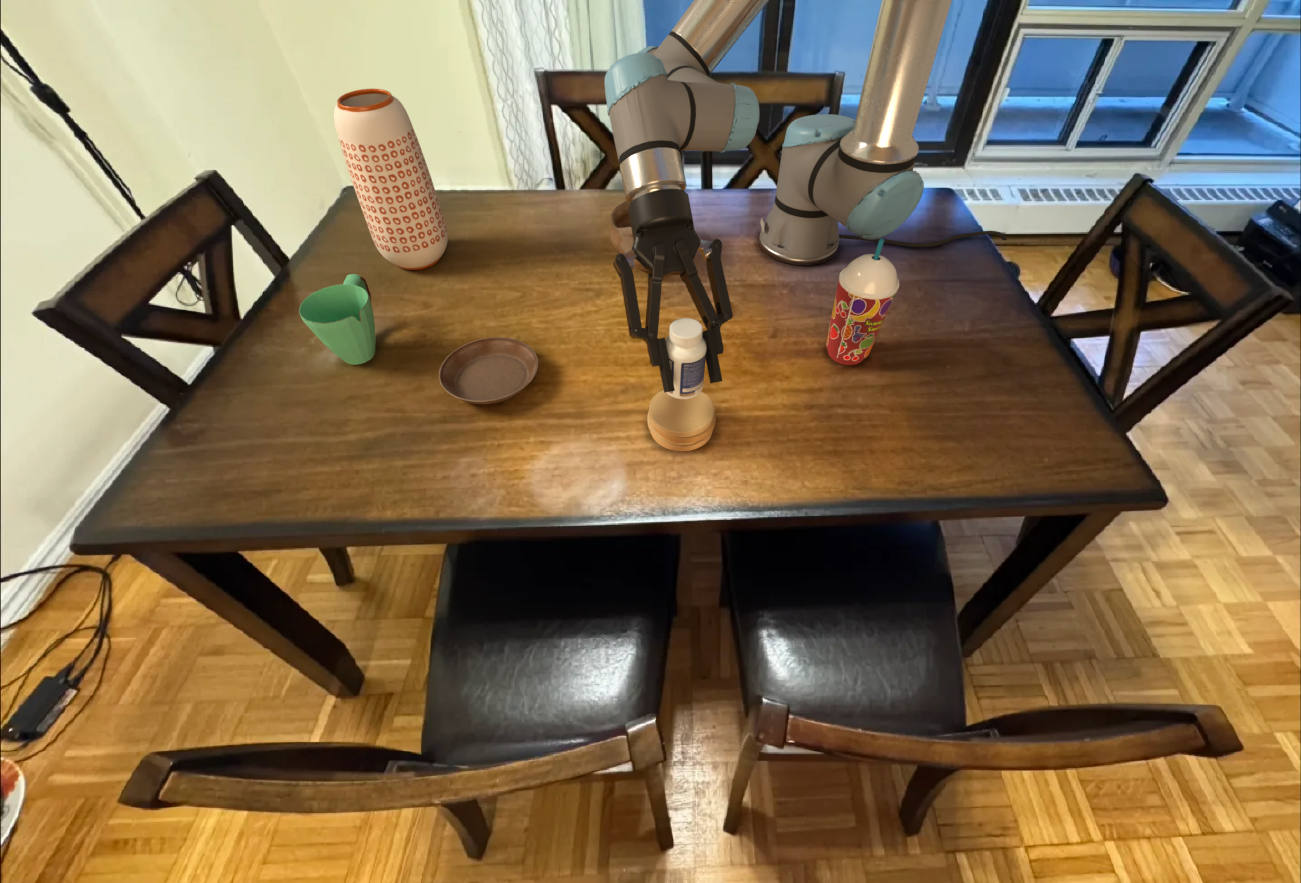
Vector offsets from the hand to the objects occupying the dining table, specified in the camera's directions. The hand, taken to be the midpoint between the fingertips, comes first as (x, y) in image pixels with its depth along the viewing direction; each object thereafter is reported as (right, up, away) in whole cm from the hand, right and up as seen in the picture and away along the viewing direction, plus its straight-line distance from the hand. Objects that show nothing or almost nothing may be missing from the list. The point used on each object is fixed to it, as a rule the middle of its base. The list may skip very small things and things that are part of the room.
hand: (693, 386), depth 73 cm
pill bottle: (-1, 0, +5) cm, 5 cm away
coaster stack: (-1, -5, +11) cm, 12 cm away
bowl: (-6, +29, +40) cm, 50 cm away
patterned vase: (-50, +29, +41) cm, 71 cm away
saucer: (-30, +3, +18) cm, 35 cm away
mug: (-52, +9, +23) cm, 58 cm away
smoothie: (+26, +7, +21) cm, 34 cm away
